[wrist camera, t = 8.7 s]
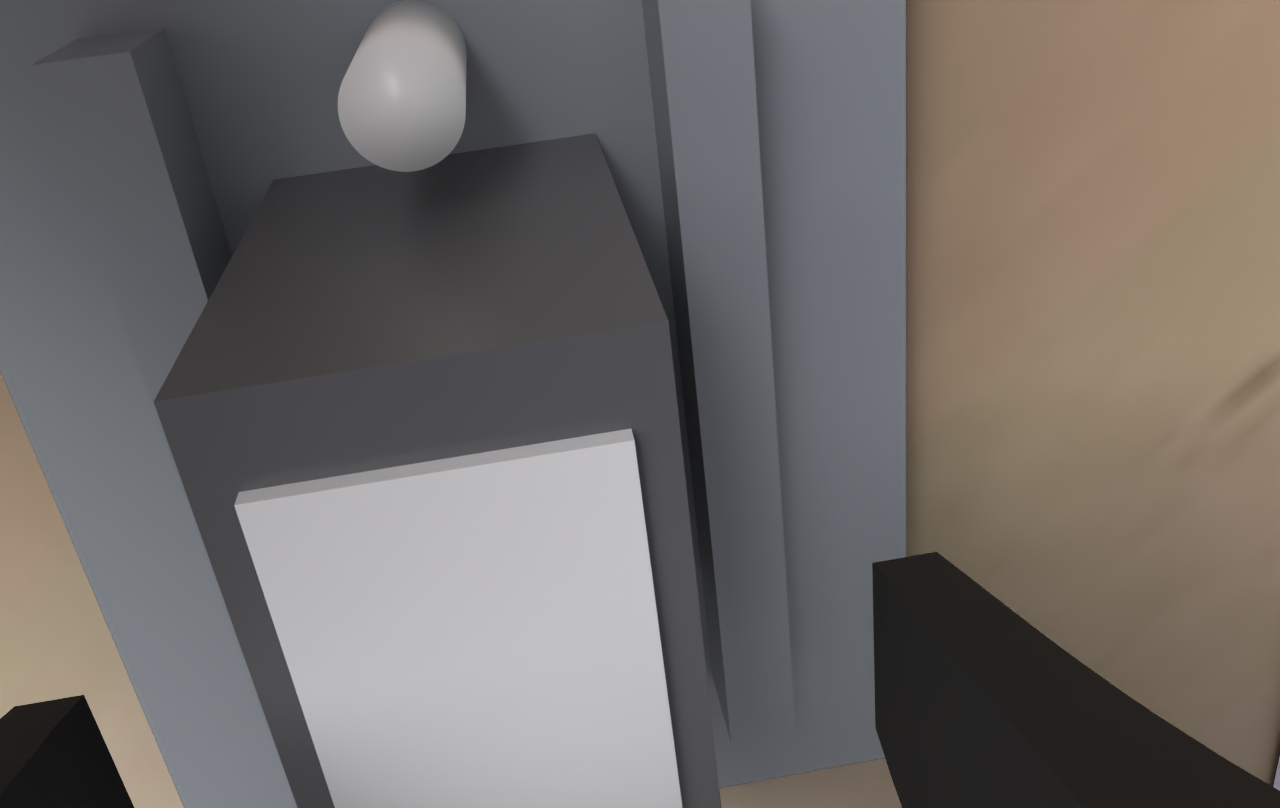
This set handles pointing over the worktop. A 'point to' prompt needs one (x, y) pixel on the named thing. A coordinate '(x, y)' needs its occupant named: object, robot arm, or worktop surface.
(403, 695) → the block
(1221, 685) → the worktop surface
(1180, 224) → the worktop surface
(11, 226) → the drive tray
